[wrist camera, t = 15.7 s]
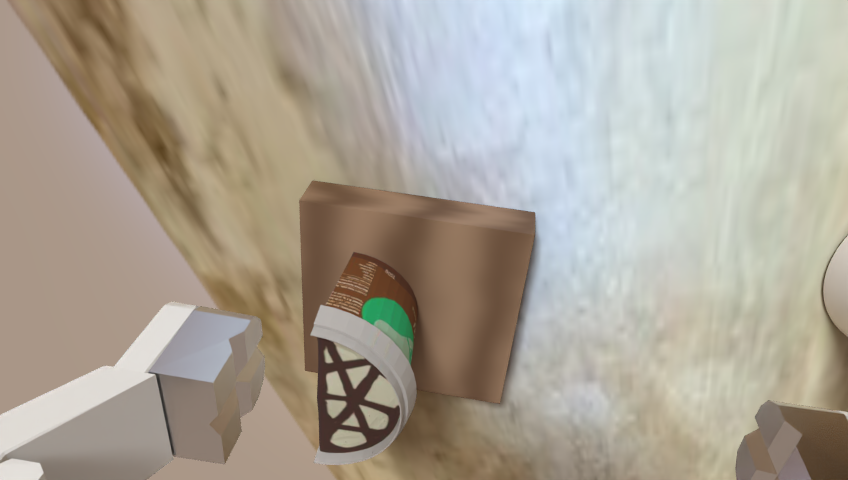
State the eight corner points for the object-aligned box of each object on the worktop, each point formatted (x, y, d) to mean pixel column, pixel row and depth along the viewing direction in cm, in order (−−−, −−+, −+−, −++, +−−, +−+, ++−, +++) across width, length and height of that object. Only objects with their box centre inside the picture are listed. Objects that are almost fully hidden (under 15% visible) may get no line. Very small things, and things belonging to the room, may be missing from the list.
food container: (426, 376, 49) (404, 485, 41) (350, 364, 50) (313, 468, 42) (441, 247, 43) (418, 345, 34) (353, 234, 43) (310, 327, 35)
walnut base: (534, 212, 44) (534, 234, 41) (501, 377, 52) (499, 403, 50) (312, 180, 45) (299, 200, 42) (315, 346, 54) (305, 370, 51)
